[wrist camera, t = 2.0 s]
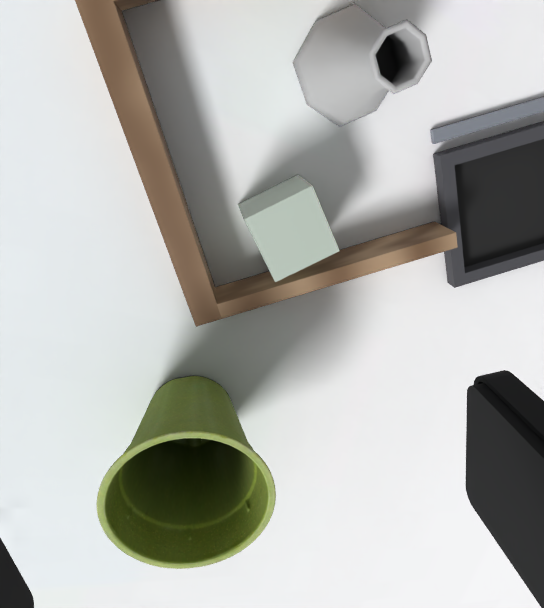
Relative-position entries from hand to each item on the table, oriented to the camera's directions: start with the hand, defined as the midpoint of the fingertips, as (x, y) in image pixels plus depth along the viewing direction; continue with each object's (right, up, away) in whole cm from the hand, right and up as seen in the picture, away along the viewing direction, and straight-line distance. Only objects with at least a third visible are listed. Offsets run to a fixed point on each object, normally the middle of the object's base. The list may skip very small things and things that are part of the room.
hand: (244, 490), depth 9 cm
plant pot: (-7, -5, +34) cm, 35 cm away
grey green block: (+1, +10, +28) cm, 30 cm away
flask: (+6, +20, +25) cm, 32 cm away
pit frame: (+19, +12, +30) cm, 38 cm away
